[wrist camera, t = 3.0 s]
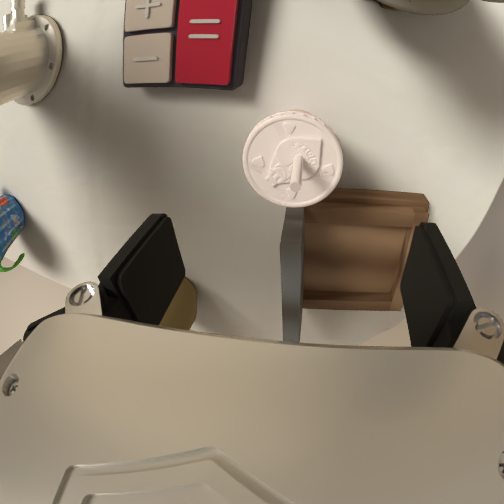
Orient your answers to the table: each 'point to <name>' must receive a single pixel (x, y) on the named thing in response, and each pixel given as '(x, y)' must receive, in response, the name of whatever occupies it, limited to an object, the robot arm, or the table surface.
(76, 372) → the robot arm
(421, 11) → the apothecary jar
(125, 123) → the table surface
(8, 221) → the snack cup
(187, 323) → the squeeze bottle
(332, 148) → the smoothie
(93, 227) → the table surface
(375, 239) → the display stand
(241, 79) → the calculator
